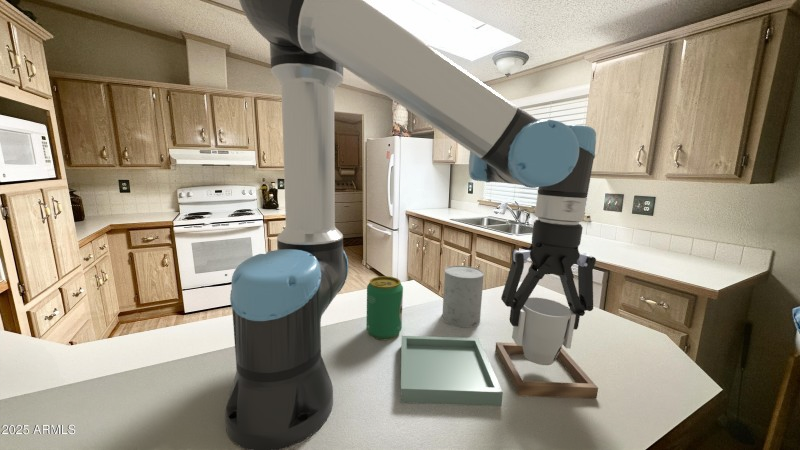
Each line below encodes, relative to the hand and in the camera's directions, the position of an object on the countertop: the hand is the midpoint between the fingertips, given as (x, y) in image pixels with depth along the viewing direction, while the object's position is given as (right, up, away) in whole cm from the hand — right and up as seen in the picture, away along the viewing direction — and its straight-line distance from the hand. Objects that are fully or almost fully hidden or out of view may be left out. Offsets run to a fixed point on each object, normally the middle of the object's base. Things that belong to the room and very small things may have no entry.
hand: (540, 342), depth 57 cm
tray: (-18, -5, 0) cm, 18 cm away
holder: (0, -6, +1) cm, 6 cm away
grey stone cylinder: (-10, -2, +22) cm, 24 cm away
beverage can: (-29, -3, +14) cm, 33 cm away
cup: (0, -3, 0) cm, 3 cm away
